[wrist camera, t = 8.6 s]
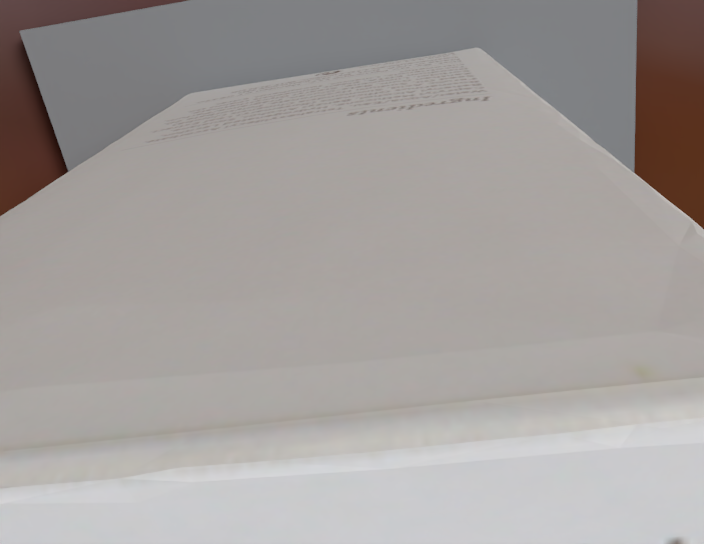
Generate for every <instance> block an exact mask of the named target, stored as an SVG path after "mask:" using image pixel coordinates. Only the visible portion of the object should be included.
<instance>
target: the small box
mask: <svg viewBox="0 0 704 544" xmlns="http://www.w3.org/2000/svg"><path fill="white" fill-rule="evenodd" d="M0 544H704V229H702V228H701V227H700V226H699V225H698V224H697V223H696V222H695V221H693V220H692V219H691V218H690V217H689V216H687V215H686V214H685V213H684V212H682V211H681V210H680V209H678V208H677V207H676V206H674V205H673V204H672V203H671V202H669V201H668V200H667V199H666V198H664V197H663V196H662V195H661V194H659V193H658V192H657V191H656V190H654V189H653V188H652V187H651V186H649V185H648V184H647V183H646V182H645V181H643V180H642V179H641V178H640V177H638V176H637V175H636V174H635V173H633V172H632V171H631V170H630V169H628V168H627V167H626V166H625V165H623V164H622V163H621V162H620V161H619V160H617V159H616V158H615V157H614V156H613V155H611V154H610V153H609V152H608V151H607V150H605V149H604V148H603V147H601V146H600V145H598V144H597V143H596V142H594V141H593V140H592V139H591V138H590V137H589V136H588V135H587V134H586V133H585V132H583V131H582V130H581V129H579V128H578V127H577V126H576V125H574V124H573V123H572V122H571V121H570V120H568V119H567V118H566V117H565V116H563V115H562V114H561V113H560V112H558V111H557V110H556V109H555V108H553V107H552V106H551V105H550V104H549V103H547V102H546V101H545V100H544V99H542V98H541V97H540V96H538V95H537V94H536V93H535V92H533V91H532V90H531V89H530V88H529V87H528V86H526V85H525V84H524V83H523V82H522V81H520V80H519V79H518V78H517V77H515V76H514V75H513V74H511V73H510V72H509V71H508V70H507V69H505V68H504V67H503V66H502V65H500V64H499V63H498V62H497V61H495V60H494V59H493V58H492V57H491V56H490V55H488V54H487V53H486V52H485V51H483V50H482V49H480V48H471V49H466V50H460V51H455V52H450V53H444V54H437V55H431V56H424V57H417V58H411V59H404V60H398V61H391V62H385V63H378V64H372V65H365V66H359V67H353V68H346V69H340V70H334V71H327V72H321V73H315V74H308V75H302V76H296V77H289V78H283V79H276V80H270V81H263V82H257V83H251V84H244V85H238V86H232V87H226V88H220V89H213V90H207V91H201V92H195V93H191V94H188V95H186V96H184V97H183V98H182V99H180V100H179V101H177V102H176V103H174V104H173V105H171V106H170V107H168V108H167V109H165V110H163V111H162V112H160V113H158V114H157V115H155V116H153V117H152V118H150V119H149V120H147V121H146V122H144V123H143V124H141V125H140V126H138V127H137V128H135V129H134V130H132V131H131V132H129V133H128V134H126V135H125V136H123V137H122V138H120V139H119V140H117V141H115V142H114V143H112V144H110V145H109V146H107V147H106V148H105V149H103V150H102V151H100V152H99V153H97V154H96V155H94V156H92V157H91V158H89V159H88V160H86V161H84V162H83V163H81V164H80V165H78V166H77V167H75V168H74V169H72V170H70V171H69V172H67V173H66V174H64V175H63V176H61V177H60V178H58V179H57V180H55V181H54V182H52V183H51V184H49V185H48V186H46V187H45V188H43V189H42V190H40V191H39V192H37V193H36V194H34V195H33V196H31V197H30V198H28V199H27V200H25V201H24V202H22V203H21V204H19V205H18V206H16V207H14V208H13V209H11V210H10V211H8V212H6V213H5V214H3V215H2V216H0Z"/></svg>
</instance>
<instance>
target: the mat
mask: <svg viewBox="0 0 704 544" xmlns="http://www.w3.org/2000/svg"><path fill="white" fill-rule="evenodd" d="M19 32H20V34H21V37H22V40H23V43H24V46H25V49H26V52H27V54H28V57H29V60H30V63H31V66H32V69H33V72H34V75H35V77H36V80H37V83H38V86H39V89H40V92H41V95H42V97H43V100H44V103H45V106H46V109H47V112H48V115H49V118H50V120H51V123H52V126H53V129H54V132H55V135H56V138H57V140H58V143H59V146H60V149H61V152H62V155H63V158H64V160H65V163H66V166H67V169H68V172H69V171H70V170H72V169H74V168H75V167H77V166H78V165H80V164H81V163H83V162H84V161H86V160H88V159H89V158H91V157H92V156H94V155H96V154H97V153H99V152H100V151H102V150H103V149H105V148H106V147H107V146H109V145H110V144H112V143H114V142H115V141H117V140H119V139H120V138H122V137H123V136H125V135H126V134H128V133H129V132H131V131H132V130H134V129H135V128H137V127H138V126H140V125H141V124H143V123H144V122H146V121H147V120H149V119H150V118H152V117H153V116H155V115H157V114H158V113H160V112H162V111H163V110H165V109H167V108H168V107H170V106H171V105H173V104H174V103H176V102H177V101H179V100H180V99H182V98H183V97H184V96H186V95H188V94H191V93H195V92H201V91H207V90H213V89H220V88H226V87H232V86H238V85H244V84H251V83H257V82H263V81H270V80H276V79H283V78H289V77H296V76H302V75H308V74H315V73H321V72H327V71H334V70H340V69H346V68H353V67H359V66H365V65H372V64H378V63H385V62H391V61H398V60H404V59H411V58H417V57H424V56H431V55H437V54H444V53H450V52H455V51H460V50H466V49H471V48H480V49H482V50H483V51H485V52H486V53H487V54H488V55H490V56H491V57H492V58H493V59H494V60H495V61H497V62H498V63H499V64H500V65H502V66H503V67H504V68H505V69H507V70H508V71H509V72H510V73H511V74H513V75H514V76H515V77H517V78H518V79H519V80H520V81H522V82H523V83H524V84H525V85H526V86H528V87H529V88H530V89H531V90H532V91H533V92H535V93H536V94H537V95H538V96H540V97H541V98H542V99H544V100H545V101H546V102H547V103H549V104H550V105H551V106H552V107H553V108H555V109H556V110H557V111H558V112H560V113H561V114H562V115H563V116H565V117H566V118H567V119H568V120H570V121H571V122H572V123H573V124H574V125H576V126H577V127H578V128H579V129H581V130H582V131H583V132H585V133H586V134H587V135H588V136H589V137H590V138H591V139H592V140H593V141H594V142H596V143H597V144H598V145H600V146H601V147H603V148H604V149H605V150H607V151H608V152H609V153H610V154H611V155H613V156H614V157H615V158H616V159H617V160H619V161H620V162H621V163H622V164H623V165H625V166H626V167H627V168H628V169H630V170H631V171H632V172H633V173H634V155H635V98H636V41H637V0H189V1H184V2H178V3H173V4H167V5H162V6H156V7H150V8H145V9H139V10H134V11H128V12H123V13H117V14H111V15H106V16H100V17H95V18H89V19H83V20H78V21H72V22H67V23H61V24H56V25H50V26H44V27H39V28H33V29H28V30H22V31H19Z"/></svg>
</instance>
